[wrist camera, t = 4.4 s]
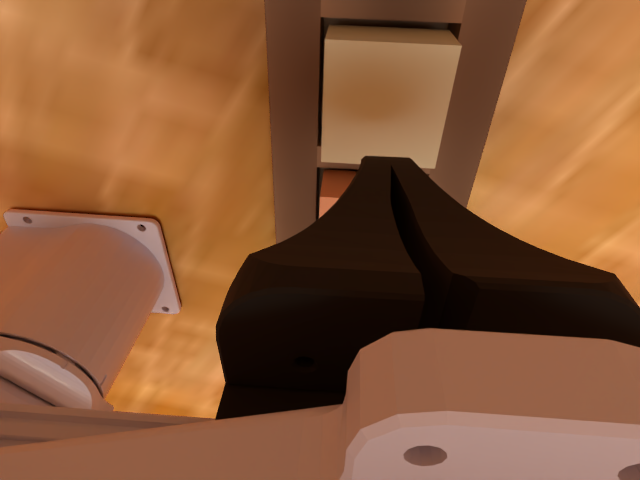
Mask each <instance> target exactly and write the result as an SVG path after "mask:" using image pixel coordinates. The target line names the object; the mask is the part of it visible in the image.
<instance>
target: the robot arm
mask: <svg viewBox="0 0 640 480" xmlns="http://www.w3.org/2000/svg"><path fill="white" fill-rule="evenodd" d="M3 217H4V219H5V221H6V223H7V225H8V227H7V228H6V229H5V230H4V231H2V232H1V233H0V480H640V307H639V306H638V305H637V303H636V302H635V301H634V299H633V298H632V297H631V295H630V294H629V292H628V291H627V290H626V288H625V287H624V286H623V284H622V283H621V281H620V280H619V279H618V278H617V276H616V275H615V274H613V273H610V272H607V271H603V270H600V269H597V268H594V267H591V266H587V265H584V264H581V263H578V262H575V261H571V260H568V259H565V258H563V257H560V256H557V255H555V254H552V253H550V252H547V251H545V250H542V249H540V248H537V247H535V246H533V245H530V244H528V243H526V242H524V241H521V240H519V239H517V238H515V237H513V236H511V235H510V234H508V233H506V232H504V231H502V230H500V229H498V228H496V227H494V226H493V225H491V224H489V223H488V222H486V221H484V220H483V219H481V218H480V217H478V216H477V215H475V214H473V213H472V212H470V211H469V210H468V209H466V208H465V207H464V206H462V205H461V204H460V203H458V202H457V201H456V200H455V199H453V198H452V197H451V196H450V195H448V194H447V193H446V192H445V191H444V190H443V189H442V188H440V187H439V186H438V185H437V184H436V183H435V182H434V181H433V180H432V179H431V178H430V177H429V176H428V175H427V174H426V173H425V172H424V171H423V170H422V169H421V168H420V167H419V166H418V165H417V164H416V163H415V162H414V161H413V160H412V159H411V158H409V157H385V156H365V157H363V158H362V159H361V164H360V167H359V169H358V171H357V173H356V175H355V176H354V178H353V180H352V181H351V183H350V184H349V186H348V187H347V189H346V190H345V191H344V193H343V194H342V195H341V196H340V198H339V199H338V200H337V201H336V202H335V204H334V205H333V206H332V207H331V208H330V209H329V210H328V211H327V212H326V213H325V214H323V215H322V216H321V217H320V218H319V219H318V220H316V221H315V222H314V223H313V224H311V225H310V226H309V227H307V228H306V229H304V230H303V231H301V232H299V233H297V234H296V235H294V236H292V237H290V238H288V239H286V240H284V241H282V242H280V243H278V244H275V245H273V246H270V247H268V248H265V249H262V250H260V251H257V252H255V253H252V254H249V255H248V257H247V258H246V260H245V261H244V263H243V265H242V266H241V268H240V270H239V271H238V273H237V275H236V277H235V279H234V281H233V282H232V284H231V286H230V288H229V291H228V293H227V295H226V298H225V301H224V303H223V306H222V309H221V312H220V315H219V318H218V321H217V324H216V341H217V346H218V350H219V355H220V360H221V364H222V369H223V373H224V378H225V387H224V391H223V394H222V398H221V401H220V405H219V408H218V412H217V415H216V419H211V418H198V417H185V416H171V415H158V414H145V413H132V412H118V411H113V409H114V407H113V406H112V405H111V404H109V403H108V402H106V401H105V398H106V396H107V394H108V392H109V390H110V388H111V386H112V385H113V383H114V381H115V379H116V377H117V375H118V373H119V371H120V370H121V368H122V366H123V364H124V362H125V360H126V358H127V356H128V354H129V353H130V351H131V349H132V347H133V345H134V343H135V341H136V339H137V338H138V336H139V334H140V332H141V330H142V328H143V326H144V324H145V322H146V321H147V319H148V317H149V315H150V313H151V312H153V313H166V314H177V313H179V312H180V310H181V304H180V300H179V296H178V293H177V289H176V285H175V281H174V277H173V273H172V269H171V265H170V262H169V258H168V254H167V250H166V246H165V242H164V238H163V235H162V231H161V227H160V224H159V223H158V222H157V221H156V220H154V219H151V218H138V217H124V216H109V215H94V214H79V213H64V212H49V211H34V210H20V209H9V210H7V211H6V212H5V213H4V214H3ZM28 217H29V218H30V219H29V218H28ZM140 224H141V225H143V226H145V228H144V227H142V226H141V225H140Z"/></svg>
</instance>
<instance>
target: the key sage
mask: <svg viewBox="0 0 640 480" xmlns="http://www.w3.org/2000/svg"><path fill="white" fill-rule="evenodd" d="M461 48H462V45H461V44H460V43H459V42H458V40H457V39H456V38H455V36H454V35H453V34H452V33H451V31H450V30H441V29H419V28H397V27H375V26H353V25H331V24H329V27H328V30H327V34H326V37H325V49H324V81H323V113H322V145H321V162H331V163H348V164H361V159H362V158H363V157H365V156H385V157H409V158H411V159H412V160H413V161H414V162H415V163H416V164H417V165H418V166H419V167H420V168H431V169H435V166H436V161H437V157H438V152H439V148H440V143H441V138H442V134H443V129H444V125H445V120H446V116H447V111H448V107H449V102H450V98H451V93H452V88H453V84H454V79H455V75H456V70H457V66H458V61H459V57H460V52H461Z"/></svg>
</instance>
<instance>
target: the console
mask: <svg viewBox="0 0 640 480" xmlns="http://www.w3.org/2000/svg"><path fill="white" fill-rule="evenodd" d="M526 1H527V0H265V20H266V41H267V61H268V82H269V103H270V123H271V144H272V165H273V186H274V206H275V227H276V244H278V243H280V242H282V241H284V240H286V239H288V238H290V237H292V236H294V235H296V234H297V233H299V232H301V231H303V230H304V229H306V228H307V227H309V226H310V225H311V224H313V223H314V222H315V221H316V220H318V219H319V209H320V193H321V186H322V179H323V172H324V169H328V170H345V171H358V169H359V167H360V164H348V163H331V162H321V145H322V113H323V81H324V49H325V37H326V34H327V30H328V27H329V24H331V25H353V26H375V27H397V28H419V29H441V30H450V31H451V33H452V34H453V35H454V36H455V38H456V39H457V40H458V42H459V43H460V44H461V45H462V48H461V52H460V57H459V61H458V66H457V70H456V75H455V79H454V84H453V88H452V93H451V98H450V102H449V107H448V111H447V116H446V120H445V125H444V129H443V134H442V138H441V143H440V148H439V152H438V157H437V161H436V166H435V169H431V168H421V169H422V170H423V171H424V172H425V173H426V174H427V175H428V176H429V177H430V178H431V179H432V180H433V181H434V182H435V183H436V184H437V185H438V186H439V187H440V188H442V189H443V190H444V191H445V192H446V193H447V194H448V195H450V196H451V197H452V198H453V199H455V200H456V201H457V202H458V203H460V204H461V205H462V206H464V207H465V208H466V207H467V204H468V200H469V197H470V193H471V190H472V187H473V183H474V180H475V176H476V173H477V169H478V166H479V162H480V159H481V156H482V152H483V149H484V145H485V142H486V138H487V135H488V132H489V128H490V125H491V121H492V118H493V114H494V111H495V107H496V104H497V101H498V97H499V94H500V90H501V87H502V83H503V80H504V76H505V73H506V70H507V66H508V63H509V59H510V56H511V52H512V49H513V46H514V42H515V39H516V35H517V32H518V28H519V25H520V21H521V18H522V15H523V11H524V8H525V4H526Z"/></svg>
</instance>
